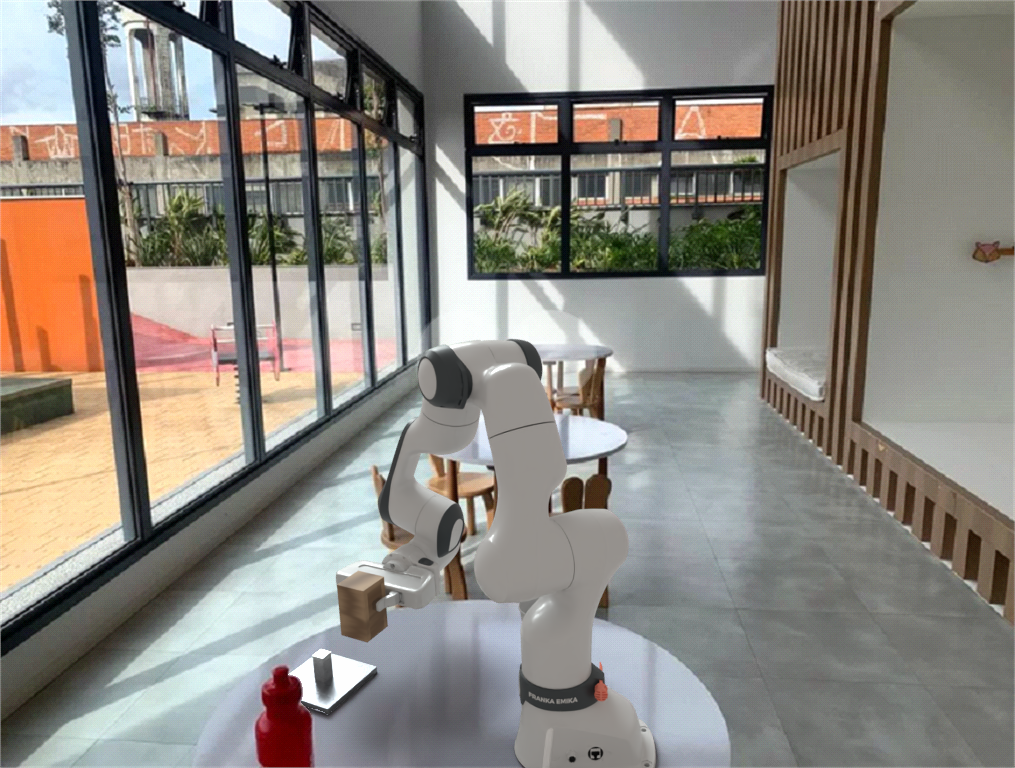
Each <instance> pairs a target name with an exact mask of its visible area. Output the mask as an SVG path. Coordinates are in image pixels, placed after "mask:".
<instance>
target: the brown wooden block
mask: <svg viewBox="0 0 1015 768" xmlns="http://www.w3.org/2000/svg"><path fill="white" fill-rule="evenodd" d="M336 590H337V600H338V601H337V602H338V612H339V622H340V634H341V636H344V637H347V638H350V639H353V640H357V641H361V642H364V643H367V644H368V643H369V642H371V641H372V640H373V639H374V638H375V637H377V635H379V634H380V633H381V632H383V630H385V629H386V628H387V627H388V626H389V625H388V624H389V623H388V612H387V608H384V609H383V610H381V611H380V612H379V611H376V610H373V608H372V607H373V606H372V602H373V601H374V600H376V599H377V598H383V597H386V595H385V582H384V577H383V576H379V575H375V574H371V573H366V572H362V571H357V572H355V573H354V574H352V575H351V576H349V577H348V578H346V579H345V580H343V581H342V582H340V583H339V584H337V585H336Z"/></svg>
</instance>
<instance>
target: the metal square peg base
mask: <svg viewBox="0 0 1015 768" xmlns="http://www.w3.org/2000/svg"><path fill="white" fill-rule="evenodd" d="M377 673H378V667H377V666H375V665H372V664H368V663H365V662H362V661H360V660H355V659H352V658H347V657H346V656H345V657H344V656H342V655H339V654H336V653H335V654H334V653H332V651H329V650H326V649H322V648H320V649H319V650H318V651H316V652H315V653H314V654H312V656H311V657H310V658H308V659H307V660H306V661H304V662H303V663H302V664H300V666H297V668H295V669H293V671H291V672H290V673H289V674H290V675H293V676H296V677H298V678H299V679H300V681H301V683H302V687H303V697H302V700H301V703H302V704H303V705H304V706H306V707H307V708H306V707H305V708H306V709H309V708H313V709H318V710H320V711H323V712H325V713H326V714H329V713H330V714H331V713H332V712H334V711H335V710H336V709H337V708H338V707H339V706H341V705H342V704H343V703H344V702H345V701H346V700H347V699H348V698H350V697H351V696H353V694H354V693H355V692H357V690H359V689H360V688H361V687H362V686H364V684H366V683H367V682H368V681H369V680H371V678H372V677H374V676H375V675H376V674H377ZM337 706H338V707H337ZM308 707H309V708H308ZM336 707H337V708H336ZM335 708H336V709H335ZM334 709H335V710H334ZM333 710H334V711H333ZM331 711H332V712H331ZM326 714H325V715H326ZM330 714H329V715H330Z"/></svg>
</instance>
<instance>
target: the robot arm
mask: <svg viewBox="0 0 1015 768" xmlns="http://www.w3.org/2000/svg"><path fill="white" fill-rule="evenodd" d="M542 377H543V362H542V359H541V355H540V353H539V352H538V350H537V348H536V347H535V345H534V344H533V343H531V342H529V341H527V340H525V339H519V338H518V339H517V338H508V339H506V340H504V339H492V340H491V339H487V340H481V339H476V340H475V339H474V340H466V341H463V342H457V343H453V344H449V345H448V344H441V345H437V346H434V347H431V348H429V349H427V350H425V351H424V352H423V353H422V355H421V357H420V359H419V362H418V366H417V383H418V386H419V391H420V393H421V395H422V400H421V401H422V402H421V409H420V413H419V415H418V416H414V417H413V418H411V419H409V420H408V422H407V423H406V424H405V426H404V428H403V429H402V431H401V434H400V437H399V439H398V442H397V445H396V448H395V451H394V455H393V457H392V462H391V464H390V468H389V471H388V474H387V478H386V480H385V482H384V484H383V485H382V486H383V487H382V488H381V491H380V493H379V496H378V498H377V509H378V513H379V516H380V518H381V520H383V521H384V522H386V523H389V524H391V525H393V526H395V527H397V528H401V529H402V530H404V531H407V532H408V533H409V534H411V535H413V538H412V539H410V540H409V542H408V543H404V544H402V545H401V546H399V547H397V549H394V550H392V551H391V552H389V554H386V556H384V558H383V560H382V562H375V561H371V560H367V559H366V560H365V559H361V560H356V561H354V562H352V563H350V564H348V565H345V566H343V567H341V568H340V569H339V570H337V571H336V573H335V585H336V586H337V584H339V583H340V582H342V581H343V580H345V579H346V578H348V577H349V576H351V575H352V574H354V573H355V572H357V571H362V572H366V573H371V574H375V575H379V576H383V577H384V582H385V595H386V597H383V598H377V599H376V600H374V601H373V602H372V606H373V607H372V608H373V610H376V611H379V612H380V611H381V610H383V609H384V608H390V607H396V606H402V607H405V608H409V609H414V610H419V609H424V608H425V607H427V606H428V605H429V604H430V603H431V602H433V601H434V600H435V598H436V597H438V596H439V595H440V594H441V591H442V590H441V589H442V586H441V585H442V583H441V571H442V570H444V569H445V567H447V566H448V565H449V564H450V563H451V562H452V560H453V559H454V558H455V556H456V555H457V553H458V552H459V549H460V546H461V540H462V537H463V535H464V530H465V525H466V524H465V523H466V522H465V517H464V512H463V510H462V506H461V505H460V504H459V503H457V502H455V501H454V500H452V499H450V498H448V497H446V496H444V495H442V494H441V493H438V492H435V491H433V490H432V489H430V488H427V487H425V486H424V485H422V484H421V483H419V481H418V480H417V479H416V478H415V473H416V470H417V467H418V465H419V464H418V463H419V460H420V458H421V454H428V455H437V456H444V455H451V454H455V453H458V452H460V451H462V450H463V449H466V448H467V447H468V446H469V445H470V444H471V443H472V442H473V441H474V439H475V437H476V435H477V432H478V428H479V422H480V415H481V413H482V416H483V420H484V425H485V430H486V436H487V440H488V443H489V448H490V452H491V456H492V460H493V467H494V471H495V477H496V484H497V501H496V502H497V503H496V509H495V513H494V515H493V520H492V522H491V525H490V527H489V529H488V531H487V533H486V534H485V536H484V537H483V539H482V540H481V541H480V543H479V544H478V547H477V548H476V551H475V554H474V559H473V571H474V577H475V580H476V582H477V584H478V587H479V588H480V590H481V591H482V592H483V594H485V596H486V597H488V598H489V599H490V600H491V601H492V602H495V603H496V604H515V603H520V602H525V601H530V600H533V599H536V598H539V599H538V600H537V601H536V602H535V603H534V604H533V605H532V607H531V608H530V609H529V610H528V611H527V613H526V614H525V616H524V618H523V620H521V625H520V657H521V658H520V659H521V663H520V665H519V671H518V696H519V699H520V700H519V701H520V704H521V710H520V719H519V723H518V730H517V734H516V737H515V740H514V753H515V756H516V758H517V760H518V761H519V763H520V764H521V765H522V766H523V767H524V768H656V763H657V756H656V755H657V754H656V753H657V751H656V745H655V740H654V737H653V733H652V731H651V729H650V728H649V726H648V725H647V724H646V722H644V721H643V720H642V719H640V718H639V716H638V714H637V711H636V708H635V706H634V705H633V703H632V702H631V700H630V699H628V698H627V697H625V696H624V695H622V694H620V692H617V691H616V690H614V689H613V688H611V687H610V686H608V685H606V677H605V672H604V671H603V668H604V667H603V664H602V662H601V661H599V663H598V664H599V665H598V666H599V667H598V666H597V665H595V664H594V663H593V662H592V643H593V641H592V640H593V626H594V621H595V616H596V613H597V610H598V607H599V603H600V602H601V598H602V597H603V594H604V592H605V590H606V588H607V586H608V584H609V582H610V581H611V579H612V578H613V576H614V575H615V574H616V572H617V571H618V570H619V569H620V567H621V566H622V565H623V564H624V563H625V562H626V561H627V558H628V553H629V549H630V548H629V547H630V545H629V544H630V543H629V542H630V541H629V534H628V532H627V530H626V527H625V525H624V523H623V521H622V520H621V519H620V518H619V517H618V515H616V514H615V513H614V512H612V511H611V510H610V509H606V508H582V509H581V508H580V509H575V510H572V511H568V512H564V513H560V514H556V515H553V516H550V515H549V514H550V513H549V503H550V498H551V495H552V493H553V492H554V491H555V490H556V489H557V488H558V487H559V486H560V484H562V482H563V481H564V480H565V477H566V475H567V471H568V462H567V459H566V455H565V452H564V449H563V448H564V447H563V445H562V444H563V443H562V440H561V436H560V433H559V432H560V431H559V429H558V425H557V422H556V419H555V415H554V411H553V408H552V406H551V401H550V400H549V397H548V395H547V391H546V389H545V387H544V385H543V383H542Z"/></svg>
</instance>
